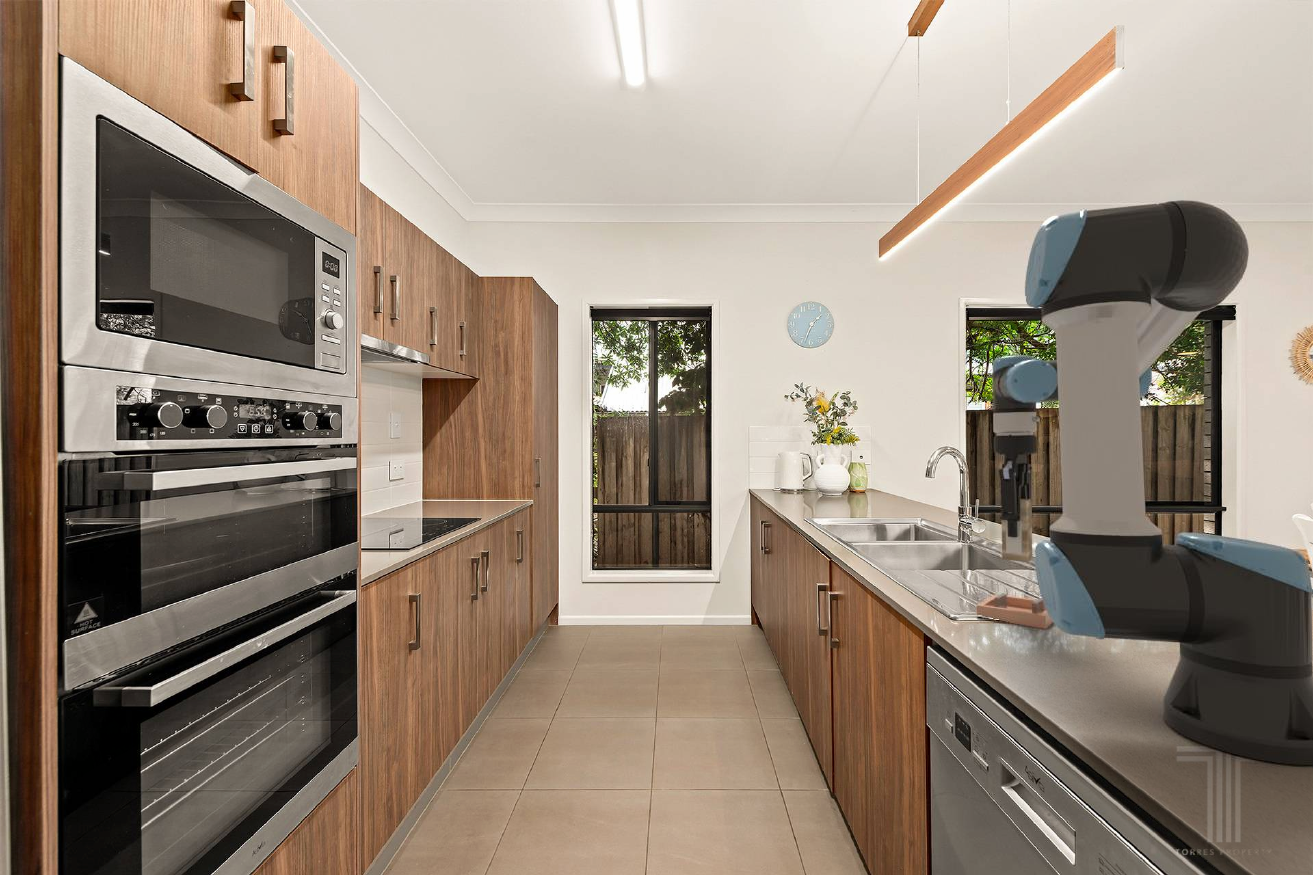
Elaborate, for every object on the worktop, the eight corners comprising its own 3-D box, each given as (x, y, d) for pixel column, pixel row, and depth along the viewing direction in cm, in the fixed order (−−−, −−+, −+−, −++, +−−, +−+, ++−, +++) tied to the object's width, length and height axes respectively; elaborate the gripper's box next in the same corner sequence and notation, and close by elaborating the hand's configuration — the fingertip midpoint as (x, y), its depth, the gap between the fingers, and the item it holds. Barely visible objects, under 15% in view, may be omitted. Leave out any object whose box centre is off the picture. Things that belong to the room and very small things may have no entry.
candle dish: (1045, 628, 118) (1045, 609, 118) (976, 617, 126) (976, 599, 126) (1061, 615, 127) (1061, 597, 127) (996, 605, 135) (995, 588, 135)
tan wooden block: (1027, 562, 124) (1026, 500, 124) (1002, 559, 127) (1001, 499, 127) (1032, 559, 127) (1031, 499, 127) (1007, 556, 130) (1006, 497, 130)
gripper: (1024, 434, 118) (1026, 560, 118) (1047, 433, 130) (1049, 547, 130) (981, 435, 124) (983, 555, 124) (1007, 433, 135) (1009, 543, 135)
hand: (1017, 551), depth 127 cm, fingers closed on tan wooden block, 3 cm apart
